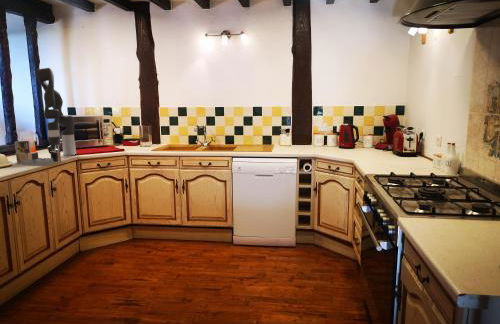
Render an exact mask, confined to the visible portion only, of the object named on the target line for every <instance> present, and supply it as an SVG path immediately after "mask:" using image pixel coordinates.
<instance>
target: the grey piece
mask: <svg viewBox="0 0 500 324" xmlns="http://www.w3.org/2000/svg"><path fill="white" fill-rule="evenodd" d="M55 163H56V162H53V158H51V157H49V158H48V157H43V158H42V157H39V152H37V151H34V152H31V153H28V159H26V160H25V163H22V165H23V166H48V165H52V164H55Z"/></svg>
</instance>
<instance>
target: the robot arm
mask: <svg viewBox="0 0 500 324" xmlns="http://www.w3.org/2000/svg"><path fill="white" fill-rule="evenodd" d="M35 76H36V78H37V81H38V82H39V84H40V85H41V87H42V88H43V91H44V93H43V99H44V100H43V101H44V109H43V110H44V111H43V116H44V118H45V119H51V120H53V119H54V120H53V121H50V122H49V121H48V122H47V137H48V139H47V140H48V143H49V146H46V148H47V152H48V153H49V154H50V155H51V154H52V158H53V159H55V152H60V153H61V152H63V153H62V154H63V155H62V156H69V157H70V156H75V154H76V155H77V149H76V142H75V141H76V140H75V118H74V116H73V115H69V114H67V115H65V114H64V113H63V111H62V107H63V103H64V101H63V98H62V96H61V94H60V92H58V90H56V89H55V76H54V72H53V70H52V68H51V67H45V68H38V69H36V70H35ZM47 82H48V83H47ZM50 108H51V109H50ZM59 126H61V127H66V128H65V130H62V131H61V137H60V130H59ZM60 138H61V140H62V141H61V140H60ZM60 142H62V143H61V144H60Z"/></svg>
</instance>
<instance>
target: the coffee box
mask: <svg viewBox="0 0 500 324" xmlns="http://www.w3.org/2000/svg"><path fill="white" fill-rule="evenodd" d="M30 144H31V143H30V140H16V141H14V148H15V156H16V157H15V158H16V164H23V163H25V160H26V159H28V153H32V152H31V145H30Z"/></svg>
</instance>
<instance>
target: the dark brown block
mask: <svg viewBox="0 0 500 324" xmlns="http://www.w3.org/2000/svg"><path fill="white" fill-rule="evenodd" d="M50 158H52V154H50ZM53 162H55V163H56V162H57V163H59V162H62V155H61V152H55V159H53Z"/></svg>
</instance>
